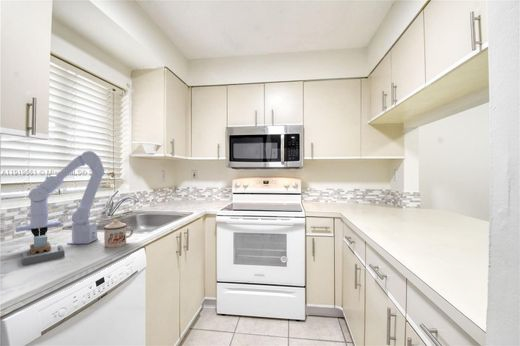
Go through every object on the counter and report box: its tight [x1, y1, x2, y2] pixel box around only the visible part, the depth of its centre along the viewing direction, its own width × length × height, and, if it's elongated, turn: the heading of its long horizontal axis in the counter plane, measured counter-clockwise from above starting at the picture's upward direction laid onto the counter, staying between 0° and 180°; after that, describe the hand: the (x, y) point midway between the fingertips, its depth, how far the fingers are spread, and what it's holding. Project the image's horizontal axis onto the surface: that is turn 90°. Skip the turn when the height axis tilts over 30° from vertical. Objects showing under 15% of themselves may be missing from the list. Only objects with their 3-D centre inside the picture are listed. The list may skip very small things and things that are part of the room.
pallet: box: [29, 241, 52, 255], centre depth 99 cm, size 9×6×2 cm, turn 47°
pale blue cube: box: [33, 234, 48, 248], centre depth 99 cm, size 4×4×4 cm
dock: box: [21, 244, 66, 266], centre depth 91 cm, size 9×12×2 cm
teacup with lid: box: [103, 219, 134, 248], centre depth 108 cm, size 12×9×12 cm
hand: (39, 244), depth 103 cm, fingers closed, pressing on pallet
